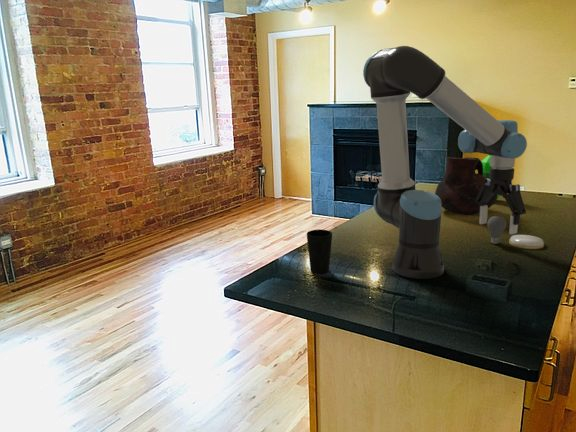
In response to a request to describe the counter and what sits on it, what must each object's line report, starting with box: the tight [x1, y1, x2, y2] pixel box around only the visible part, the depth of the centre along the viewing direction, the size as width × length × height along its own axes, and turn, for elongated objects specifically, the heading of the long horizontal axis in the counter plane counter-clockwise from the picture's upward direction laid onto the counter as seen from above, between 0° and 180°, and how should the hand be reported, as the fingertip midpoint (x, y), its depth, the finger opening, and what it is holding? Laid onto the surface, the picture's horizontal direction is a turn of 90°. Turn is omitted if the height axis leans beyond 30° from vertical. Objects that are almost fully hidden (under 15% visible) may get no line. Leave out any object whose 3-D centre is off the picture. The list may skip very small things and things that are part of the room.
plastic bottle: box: [480, 154, 500, 199], centre depth 223 cm, size 10×10×25 cm
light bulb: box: [486, 215, 507, 245], centre depth 164 cm, size 6×6×10 cm
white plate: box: [508, 234, 545, 250], centre depth 164 cm, size 11×11×2 cm
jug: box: [434, 156, 498, 216], centre depth 203 cm, size 25×25×25 cm
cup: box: [306, 229, 333, 275], centre depth 143 cm, size 8×8×12 cm
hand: (497, 228), depth 164 cm, fingers open, 13 cm apart
